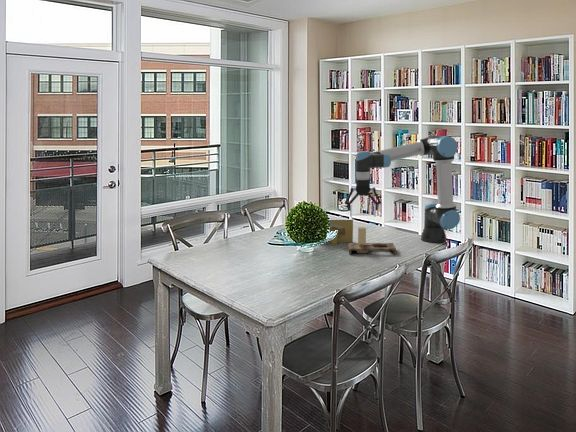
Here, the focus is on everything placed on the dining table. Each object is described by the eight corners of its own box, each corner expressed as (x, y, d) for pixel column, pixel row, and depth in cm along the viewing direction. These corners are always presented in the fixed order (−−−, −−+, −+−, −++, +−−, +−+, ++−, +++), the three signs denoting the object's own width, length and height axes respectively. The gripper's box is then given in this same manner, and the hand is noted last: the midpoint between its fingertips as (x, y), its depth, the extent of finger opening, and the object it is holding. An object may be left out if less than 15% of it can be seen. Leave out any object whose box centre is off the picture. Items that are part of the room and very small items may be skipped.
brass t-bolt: (366, 250, 292) (366, 226, 289) (367, 253, 286) (367, 229, 283) (356, 250, 292) (356, 226, 290) (357, 253, 286) (357, 229, 284)
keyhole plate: (392, 248, 294) (392, 242, 293) (395, 254, 281) (396, 248, 281) (348, 248, 296) (348, 243, 295) (349, 254, 283) (349, 248, 283)
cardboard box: (352, 241, 313) (352, 218, 309) (353, 246, 304) (353, 223, 300) (315, 241, 315) (315, 218, 311) (314, 246, 307) (314, 223, 302)
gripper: (340, 180, 279) (341, 217, 283) (386, 179, 277) (385, 217, 281) (340, 178, 286) (340, 215, 290) (384, 177, 284) (384, 214, 288)
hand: (362, 216), depth 286 cm, fingers open, 13 cm apart
